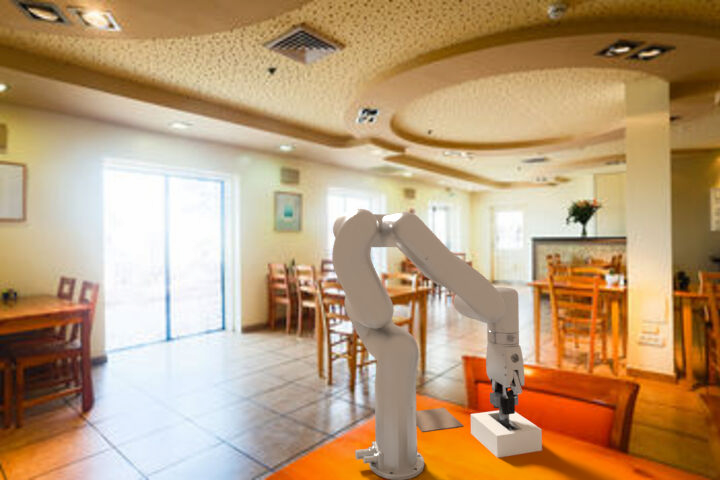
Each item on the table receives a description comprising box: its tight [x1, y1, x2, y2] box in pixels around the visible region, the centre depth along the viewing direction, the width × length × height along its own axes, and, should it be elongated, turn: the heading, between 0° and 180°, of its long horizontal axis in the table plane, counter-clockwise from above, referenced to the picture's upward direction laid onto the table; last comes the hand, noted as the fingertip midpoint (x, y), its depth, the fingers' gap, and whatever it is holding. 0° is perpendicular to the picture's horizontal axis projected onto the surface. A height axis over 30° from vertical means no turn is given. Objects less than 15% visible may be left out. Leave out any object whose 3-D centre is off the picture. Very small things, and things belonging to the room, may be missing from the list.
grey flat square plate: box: [416, 407, 464, 433], centre depth 111 cm, size 12×12×1 cm
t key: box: [489, 391, 519, 431], centre depth 98 cm, size 8×6×10 cm
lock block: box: [470, 409, 543, 458], centre depth 98 cm, size 12×12×6 cm
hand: (504, 409), depth 98 cm, fingers closed on t key, 3 cm apart
